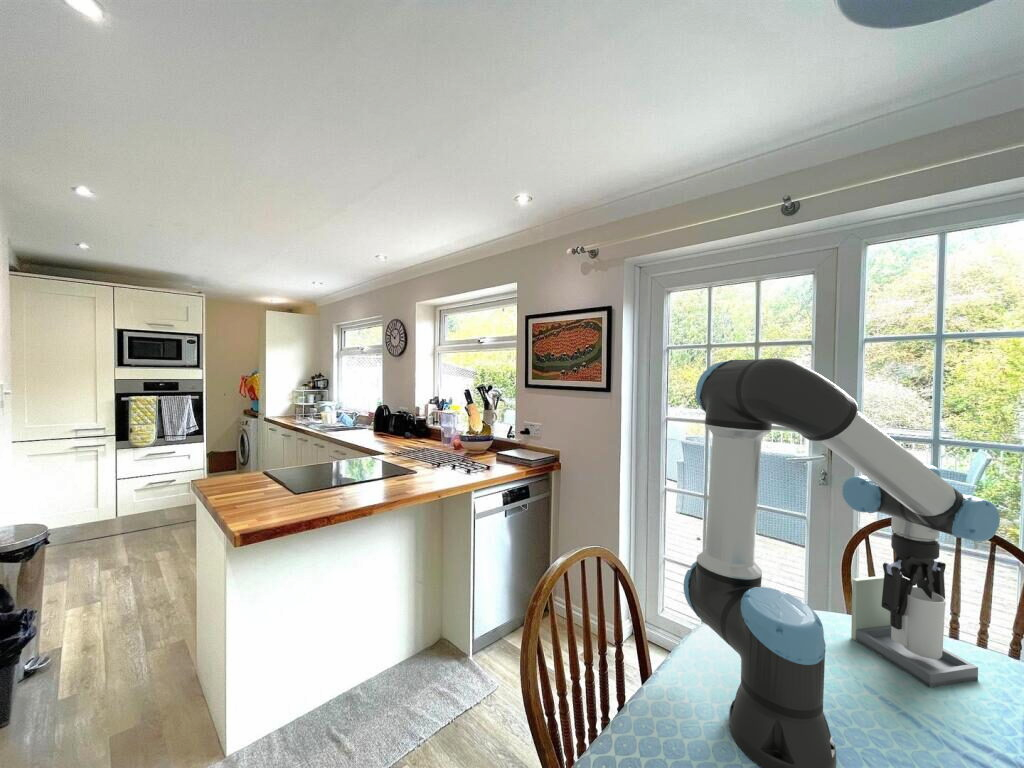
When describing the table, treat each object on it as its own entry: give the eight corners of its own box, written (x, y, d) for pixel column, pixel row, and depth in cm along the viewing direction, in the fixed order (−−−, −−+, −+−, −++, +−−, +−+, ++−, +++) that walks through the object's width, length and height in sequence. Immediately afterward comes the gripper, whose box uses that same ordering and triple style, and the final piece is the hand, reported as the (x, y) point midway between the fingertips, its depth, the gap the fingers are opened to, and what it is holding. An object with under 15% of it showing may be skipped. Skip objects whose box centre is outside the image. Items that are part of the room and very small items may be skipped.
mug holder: (929, 687, 83) (931, 617, 83) (851, 637, 99) (852, 578, 99) (977, 679, 85) (979, 611, 85) (893, 632, 101) (894, 574, 101)
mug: (952, 657, 88) (953, 600, 87) (930, 663, 86) (931, 604, 85) (896, 629, 97) (897, 577, 97) (875, 634, 95) (876, 581, 95)
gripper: (896, 545, 86) (894, 657, 86) (972, 538, 89) (969, 646, 90) (860, 531, 93) (858, 634, 94) (931, 526, 96) (929, 625, 97)
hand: (912, 640), depth 92 cm, fingers closed on mug, 6 cm apart
